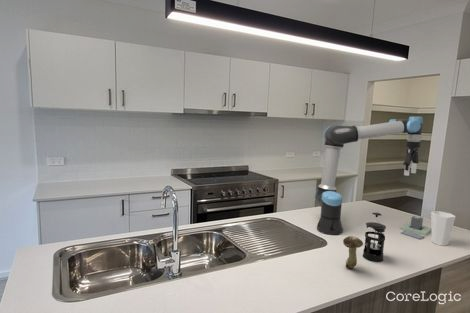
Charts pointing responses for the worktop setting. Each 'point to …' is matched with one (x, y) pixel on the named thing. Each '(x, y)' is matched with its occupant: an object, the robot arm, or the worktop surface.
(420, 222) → the block
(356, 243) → the mushroom
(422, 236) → the phone
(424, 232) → the outlet plate
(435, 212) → the cup
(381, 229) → the french press
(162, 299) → the worktop surface
